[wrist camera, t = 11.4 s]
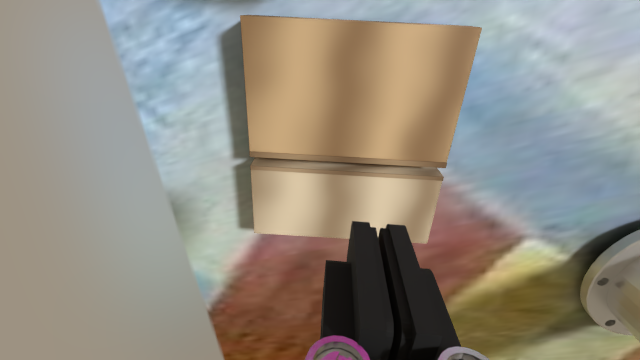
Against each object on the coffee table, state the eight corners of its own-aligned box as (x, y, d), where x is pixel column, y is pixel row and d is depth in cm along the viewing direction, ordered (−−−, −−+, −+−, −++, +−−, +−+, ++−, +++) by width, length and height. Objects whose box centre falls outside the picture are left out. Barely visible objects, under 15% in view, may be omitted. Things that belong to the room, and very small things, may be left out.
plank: (469, 26, 20) (482, 27, 18) (437, 156, 24) (445, 168, 22) (248, 14, 20) (239, 15, 18) (255, 146, 24) (249, 156, 23)
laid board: (435, 165, 25) (443, 177, 23) (420, 229, 27) (427, 244, 25) (256, 155, 25) (250, 165, 23) (259, 219, 27) (254, 233, 26)
